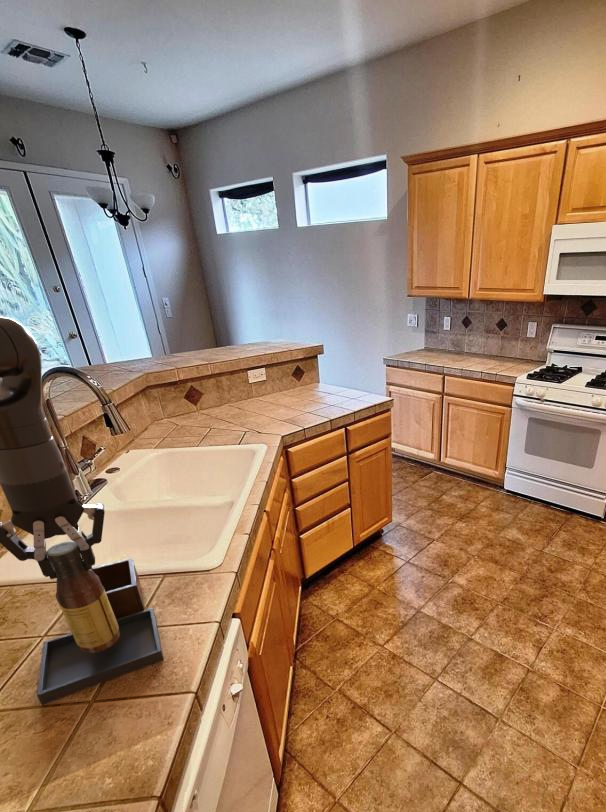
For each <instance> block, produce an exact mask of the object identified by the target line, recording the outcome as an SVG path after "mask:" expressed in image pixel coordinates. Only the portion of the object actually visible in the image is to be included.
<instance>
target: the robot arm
mask: <svg viewBox="0 0 606 812" xmlns="http://www.w3.org/2000/svg"><path fill="white" fill-rule="evenodd" d="M42 373H43V372H42V356H41V352H40V348H39V345H38V343H37V341H36V339H35V337H34V336H33V335H32V333H31V332H30V331H29V330H28V329H27V328H26V327H25V326H24V325H23V324H22V323H20V322H18V321H17V320H15V319H13V318H10V317H4V316H0V487H1V489H2V492H3V494H4V497H5V499H6V501H7V503H8V505H9V507H10V510H11V513H12V514H11V518H10V519H8V520H5V521H4V522H0V545H2V547H4V548H5V550H7V551H8V552H10V554H11V555H12V556H13V557H15V558H16V560H18V561H21V562H24V561H27V560H34V561H36V562H37V564H38V566H39V569H40V571H41V573H42V575H43V576H44V577H45V578H48V577H49V579H50V580H54V579H55V580H56V579H57V575H56V573H55V569H54V567H53V565H52V562H50V561H49V559H48V557H47V554H46V552H47V539H51V538H53V537H55V536H65V535H67V537H68V538H69V539H70V541H72V542H75V543H76V544H77V546H78V547H79V548H80V555H81V557H82V559H83V562H84V565H85V567H86V570H90V569H92V568H93V566H95V565H96V557H95V553H94V551H93V548H92V546H94V545H98V544H100V543H101V542H102V541H103V540H102V539H103V529H104V521H105V512H106V511H105V504H104V503H102V502H97V503H96V504H84V503H83V501H81V500H80V499H78V497H77V495H76V492H75V489H74V486H73V483H72V481H71V478H70V475H69V473H68V469H67V467H66V463H65V461H64V458H63V456H62V455H63V454H62V453H61V450H60V448H59V447H58V445H57V443H56V441H55V439H54V436H53V434H52V430H51V428H50V425H49V422H48V420H47V417H46V414H45V412H44V411H45V410H44V407H43V383H42V381H43V380H42V377H43V376H42V375H43V374H42ZM83 514H86V515H87V518H88V519H89V520H91V521H93V522H92V529H91V530H92V531H91V533H90V534H88V535H87V534H86V533H85V532H84V530H83V529H82V527H81V526H80V524H79V521H80V519H81V517H82V515H83ZM15 527H17V528H18V529H20V530H21V531H24V532H26V533H28V534H30V535H32V536H33V547H29V546H28V545H27V544H26V543H25V542H24V541H23V540H22V539H21V538H20V537H18V535H16V532H17V529H16V528H15Z"/></svg>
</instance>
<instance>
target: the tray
mask: <svg viewBox="0 0 606 812" xmlns="http://www.w3.org/2000/svg"><path fill="white" fill-rule="evenodd" d="M116 621H117V623H118V626H119V631H120V635H119V639H118V640H117V642H116V643H115V644H113V645H112V646H110V647H109V648H107V649H105V650H104V651H100V652H95V653H87V652H84V651H83V650H81V648H80V646H78V645H77V643H76V641H75V639H74V637H73V634H72V632H71V633H67V634H64V635H61V636H57V637H55V638H52V639H48V640H45V641H43V644H42V652H41V659H40V668H39V676H38V683H37V691H36V697H37V699H38V701H39V703H40V705H45V704H48V703H51V702H53V701H57V700H58V699H61V698H64V697H67V696H69V695H72V694H75V693H77V692H81V691H83V690H87V689H89V688H91V687H95V686H97V685H100V684H102V683H104V682H107V681H110V680H112V679H116V678H118V677H120V676H124V675H126V674H129V673H132V672H134V671H137V670H140V669H143V668H146V667H148V666H150V665H153V664H156V663H159V662H161V661H164V660H165V657H164V653H163V648H162V643H161V638H160V633H159V628H158V622H157V618H156V614H155V609H154V608H153V607H151V608H147V609H145V610H144V611H141V612H138V613H135V614H131V615H128V616H125V617H122V618H119V619H116Z"/></svg>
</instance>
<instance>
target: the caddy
mask: <svg viewBox="0 0 606 812" xmlns="http://www.w3.org/2000/svg"><path fill="white" fill-rule="evenodd" d="M90 570H92V571H94V573H95V574H96V575H97V576H98V577H99V579H100V581H101V584H102V586H103V587H104V590H105V592H106V595H107V597H108V600H109V603H110V605H111V608H112V610H113V613H114V616H115V618H116V619H119V618H122V617H125V616H128V615H131V614H135V613H138V612H141V611H144V610H146V608H145V601H144V595H143V591H142V585H141V581H140V578H139V575H138V571H137V568H136V565H135V562H134V559H133V557H130V558H125V559H121V560H117V561H114V562H113V561H112V562H110V563H109V562H108V563H106V564H102V565H98V566H95V567H92V569H90Z"/></svg>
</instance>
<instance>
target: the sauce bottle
mask: <svg viewBox="0 0 606 812" xmlns="http://www.w3.org/2000/svg"><path fill="white" fill-rule="evenodd" d="M46 551H47V552H46V554H47V557H48V559H49V561H50V562H52V565H53V567H54V569H55V573H56V575H57V578H56V591H55V598H56V601H57V603H58V606H59V608H60V610H61V612H62V614H63V617H64V618H65V622H66V623H67V625H68V628H69V630H70V632H71V633H72V634H73V637H74V639H75V641H76V643H77V645H78V646H80V648H81V650H83V651H84V652H87V653H95V652H100V651H104V650H105V649H107V648H109V647H110V646H112V645H113V644H115V643H116V642H117V640H118V639H119V635H120V631H119V626H118V623H117V621H116V618H115V616H114V613H113V610H112V608H111V605H110V603H109V600H108V597H107V595H106V592H105V590H104V587H103V586H102V584H101V581H100V579H99V577H98V576H97V575H96V574H95V573H94V571H92V570H86V567H85V565H84V562H83V559H82V557H81V554H80V548H79V547H78V546H77V544H76V543H75V542H74V541H72V540H70V541H69V540H68V541H63V542H60V543H56V544H54V545H52V546H50V547H49V548H48V549H46Z"/></svg>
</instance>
